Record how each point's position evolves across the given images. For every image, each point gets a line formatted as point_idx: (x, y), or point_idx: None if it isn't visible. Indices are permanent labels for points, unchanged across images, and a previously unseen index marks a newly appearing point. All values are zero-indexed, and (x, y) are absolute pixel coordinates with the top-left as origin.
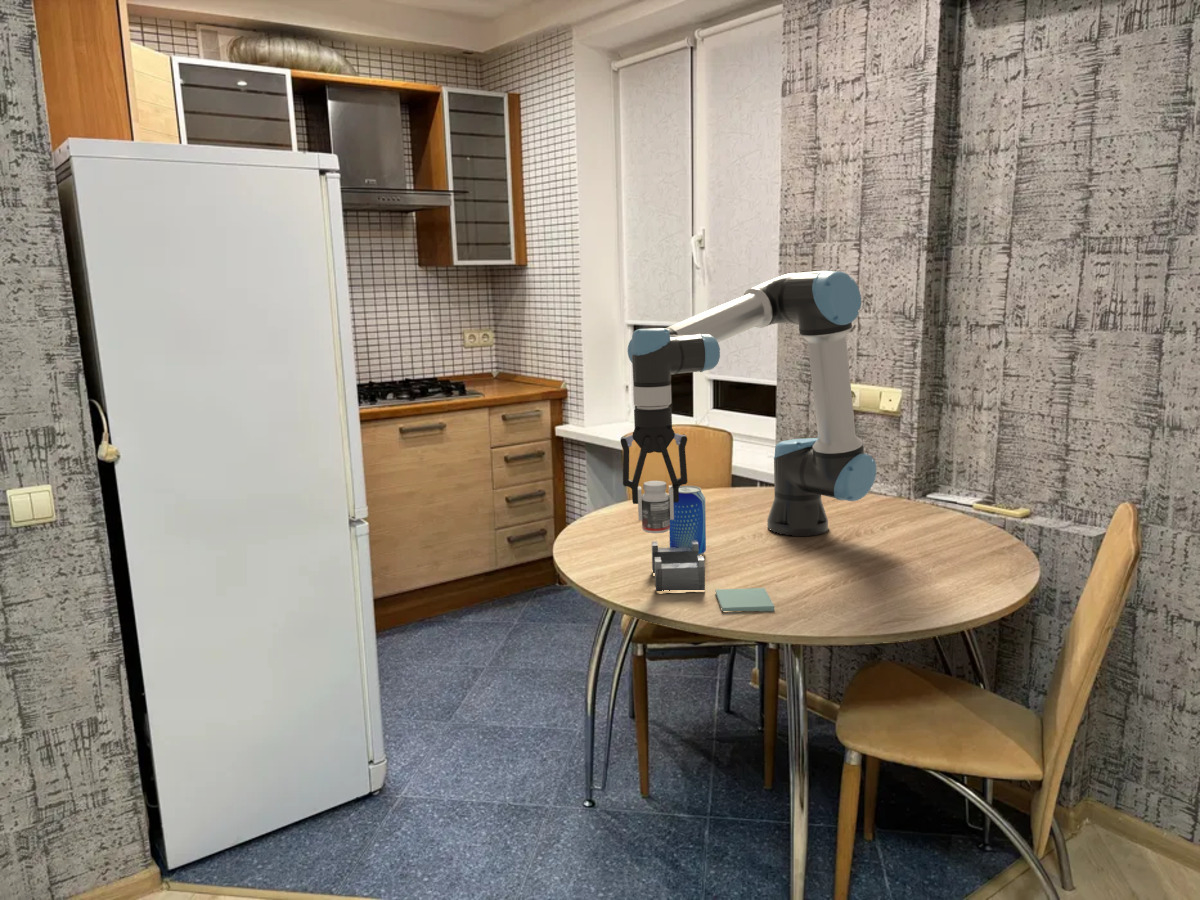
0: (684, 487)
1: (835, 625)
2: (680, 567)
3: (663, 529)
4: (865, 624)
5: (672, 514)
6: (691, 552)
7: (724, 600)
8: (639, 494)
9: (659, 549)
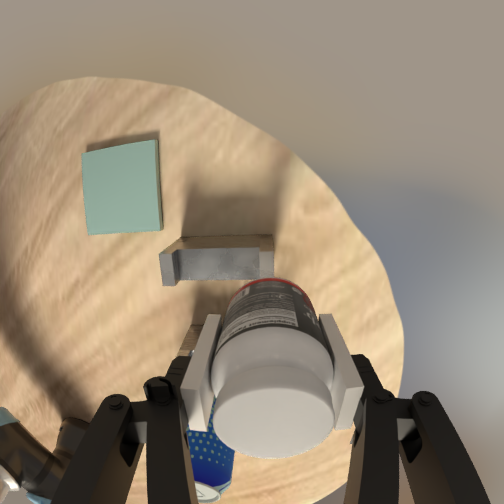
0: (198, 499)
1: (38, 115)
2: (216, 251)
3: (247, 285)
4: (16, 125)
5: (209, 323)
6: (194, 348)
7: (147, 174)
8: (350, 371)
9: None
